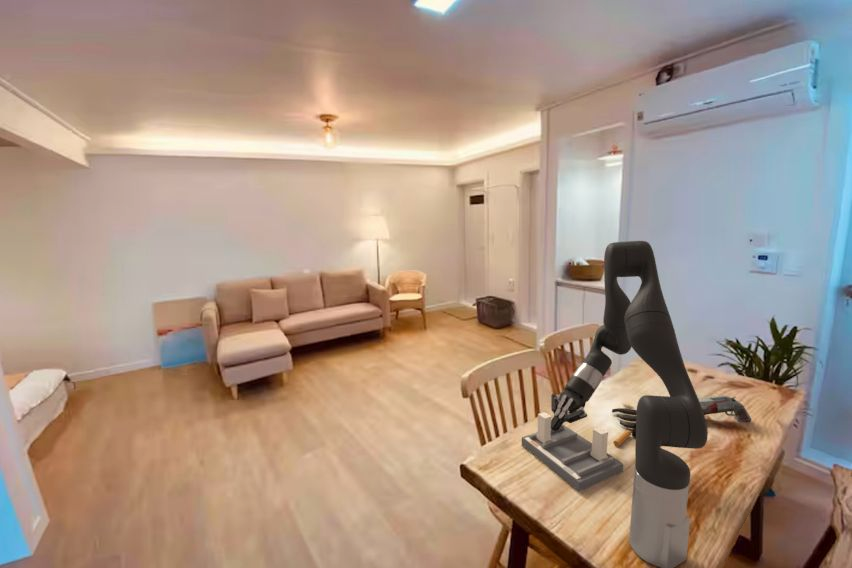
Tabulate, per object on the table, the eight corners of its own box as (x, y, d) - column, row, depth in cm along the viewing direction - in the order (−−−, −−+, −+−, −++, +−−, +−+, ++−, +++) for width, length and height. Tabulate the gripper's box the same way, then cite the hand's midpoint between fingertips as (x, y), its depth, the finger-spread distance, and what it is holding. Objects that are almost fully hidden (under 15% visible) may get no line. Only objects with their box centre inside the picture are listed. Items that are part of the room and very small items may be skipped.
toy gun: (680, 423, 131) (676, 396, 129) (745, 417, 127) (742, 389, 125) (686, 430, 126) (683, 402, 125) (754, 424, 122) (751, 395, 121)
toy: (676, 472, 103) (698, 425, 124) (677, 460, 102) (699, 414, 123) (590, 439, 118) (623, 402, 139) (590, 428, 118) (623, 393, 139)
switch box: (622, 472, 102) (623, 459, 101) (578, 491, 95) (579, 478, 95) (561, 431, 122) (562, 420, 121) (521, 444, 115) (521, 433, 114)
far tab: (551, 442, 111) (552, 417, 110) (544, 444, 110) (545, 419, 109) (542, 436, 114) (543, 411, 113) (536, 438, 113) (537, 413, 112)
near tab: (607, 459, 103) (609, 432, 101) (601, 462, 102) (602, 435, 100) (596, 452, 106) (598, 426, 104) (590, 455, 105) (591, 428, 103)
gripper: (561, 367, 120) (530, 413, 117) (596, 384, 109) (562, 434, 106) (573, 380, 124) (543, 424, 121) (608, 397, 112) (575, 446, 109)
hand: (552, 429), depth 113 cm, fingers closed
